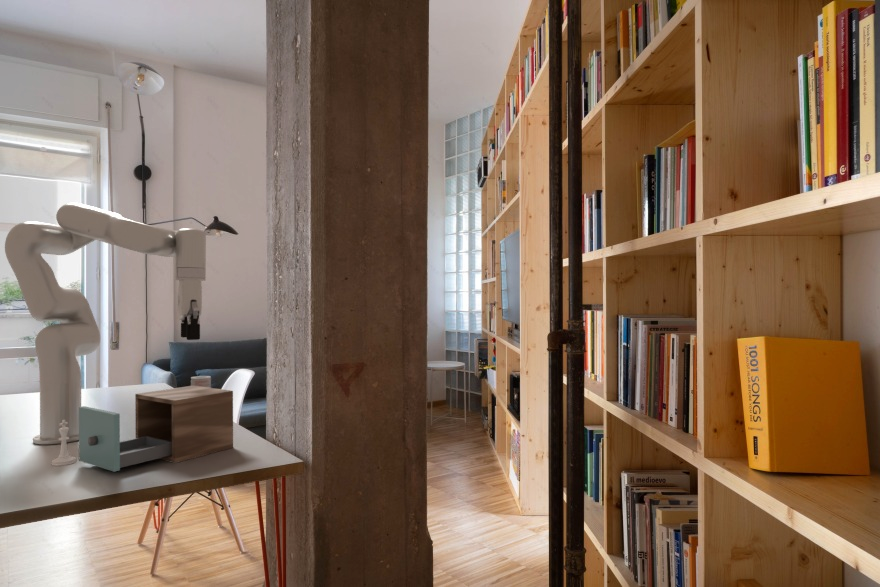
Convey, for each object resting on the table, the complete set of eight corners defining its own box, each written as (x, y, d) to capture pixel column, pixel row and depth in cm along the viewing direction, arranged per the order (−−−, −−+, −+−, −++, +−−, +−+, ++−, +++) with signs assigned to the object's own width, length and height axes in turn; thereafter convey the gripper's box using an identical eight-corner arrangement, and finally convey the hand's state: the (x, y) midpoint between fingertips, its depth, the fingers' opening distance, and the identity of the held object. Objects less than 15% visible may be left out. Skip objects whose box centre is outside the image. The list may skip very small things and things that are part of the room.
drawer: (73, 461, 132) (73, 407, 132) (143, 446, 145) (142, 397, 145) (108, 473, 123) (108, 415, 123) (179, 455, 137) (178, 403, 137)
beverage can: (215, 426, 173) (215, 376, 173) (198, 429, 168) (198, 378, 168) (203, 423, 176) (203, 374, 176) (187, 427, 171) (186, 377, 171)
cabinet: (135, 452, 144) (135, 393, 144) (193, 438, 158) (193, 385, 158) (174, 462, 135) (174, 400, 135) (233, 447, 148) (232, 390, 148)
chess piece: (81, 461, 137) (80, 418, 137) (59, 466, 132) (59, 423, 132) (67, 458, 139) (67, 417, 139) (46, 464, 134) (46, 421, 135)
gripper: (170, 275, 161) (170, 336, 161) (180, 273, 146) (179, 341, 146) (199, 276, 165) (199, 336, 165) (211, 274, 150) (211, 340, 150)
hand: (190, 338), depth 155 cm, fingers open, 9 cm apart
